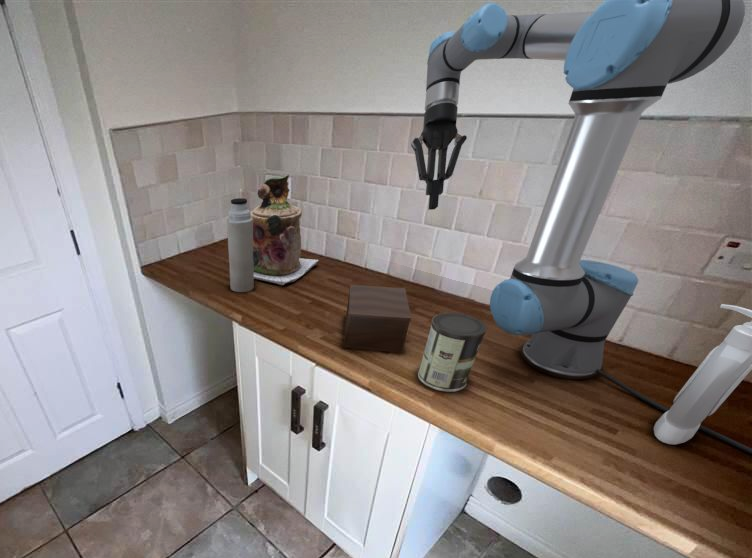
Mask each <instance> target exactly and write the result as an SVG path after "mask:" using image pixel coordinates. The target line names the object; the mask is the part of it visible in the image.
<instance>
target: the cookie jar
mask: <svg viewBox="0 0 752 558" xmlns="http://www.w3.org/2000/svg"><path fill="white" fill-rule="evenodd" d="M289 177H290V175H289V174H286V175H284V176H282V177H270V178H268V179H266V180H265V181H264V183H263V184H262V185H261V186H260V187H258V189H257V197H258V198H259V199H260V200H262V202H260V203H261V204H260V205H257V206H256V207H254V209H253V210H250V213H251V215H250V217H251V218H252V219H253V268H254V280H259V281H264V282H268V283H273V284H276V285H280V286H284V285H285V284H289V283H293V282H294V283H295V282H296V281H297V280H298V279H300V278H301V277H302V276H304V275H306V274H307V272H309V271H310V270H311V269H312V268H313V267H315V266H317V264H318V262H319V259H315V258H314V259H311V258H303V257H302V258H301V256H302V236H301V223H300V219H301V217H302V214H303V210H302V209H301V208H300V207H297V206H295V205H291V204H290V203H289V201H287V199H288V196H289V193H290V188H289V182H288V179H289Z"/></svg>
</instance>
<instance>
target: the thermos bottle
mask: <svg viewBox="0 0 752 558" xmlns="http://www.w3.org/2000/svg"><path fill="white" fill-rule="evenodd" d="M230 204H231V206H230V207H231V209H230V210H229V211H228V218H227V219H226V227H227V228H226V229H227V247H228V249H227V250H228V263H229V285H230V286H229V287H230V290H231V291H233V292H235V293H246V292H247V293H248V292H250V291H252V290H254V287H255V278H254V268H253V219H252V218H251V217H250V215H251V213H250V212H251V210H250V209H249V208H248V199H247V198H242V197H239V198H233V199H231V200H230Z"/></svg>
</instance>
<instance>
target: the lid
mask: <svg viewBox="0 0 752 558" xmlns="http://www.w3.org/2000/svg"><path fill="white" fill-rule="evenodd" d="M349 291H350V295H349V294H348V299H349V310H348V316H352V317H365V318H378V319H391V320H404V321H410V322H411V321H412V315H411V310H410V306H409V305H410V304H409V301H408V295H407V291H406V288H405V287H392V286H391V287H389V286H375V285H373V286H372V285H357V284H350V285H349Z"/></svg>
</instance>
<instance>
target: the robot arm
mask: <svg viewBox="0 0 752 558" xmlns="http://www.w3.org/2000/svg"><path fill="white" fill-rule="evenodd" d="M745 8H746V5H745V2H744V0H605V1H603V2H602V3H600V5H599V6H597V8H596V9H595V10H590V11H589V10H588V11H571V12H555V13H536V14H515V15H514V14H507V12H506V10H505V8H504V7H503V6H500V5H498V3H496V2H488V3H485V4H484V5H482V6H480V8H479V9H478V10H477V11H476V12H475V13H473V14H471V15H470V16H469V17H468V18H467V19H466V20H465V22H464V23H463V24H462V25H461V26H460V27H459V28H458V29H457V30H453V31H452V30H449V31H446V32H444V33H442V34H441V35H439V36H437V37H435V38H434V39H433V40H432V42H431V44H430V46H429V50H428V57H427V62H426V64H427V65H426V67H427V70H426V86H425V101H424V102H425V103H424V111H425V112H424V113H423V128H422V132H421V134H420V135H419V136H418V137H415V138H414V139H413V140H412V142H411V143H410V146H411V148H412V149H413V151H414V157H415V163H416V168H417V174H418V179H419V181H423V182H425V185H426V187H425V195H426V196H429V198H428V199H429V200H428V210H429V211H432V210H437V208H438V207H439V200H440V199H439V198H440V196H441V195H442V194H443V192H444V185H445V181H446V180H449V179H450V178H451V177H452V176H453V175H454V171H455V168H456V166H457V161H458V159H459V156H460V152H461V149H462V146H463V145H464V143H465V142H466V140H468V137H467V135H466V134H465V135H461V134H460V133H458V132H459V131H458V130H459V129H458V127H457V122H458V121H457V120H458V110H459V109H458V105H459V97H460V96H459V95H460V85H461V74H462V72H463V71H464V70H465V69H467V68H468V67H469V66H470V65H472V64H473V63H474V62H475V61H479V60H501V59H502V60H503V59H521V60H522V59H523V60H546V61H547V60H548V61H564V63H563V74H564V75H566V76H565V78H564V80H565V81H566V84H567V85H569V87H570V88H572V92H571V94H570V98H569V101H568V105H569V106H570V108H571V109H572V112H573V113H574V118H573V121H572V123H571V126H570V129H569V132H568V136H567V138H566V141H565V144H564V147H563V150H562V152H561V156H560V158H559V161H558V164H557V167H556V170H555V172H554V176H553V179H552V182H551V185H550V187H549V191H548V193H547V196H546V199H545V201H544V205H543V208H542V210H541V213H540V216H539V219H538V222H537V225H536V228H535V231H534V233H533V237H532V240H531V241H530V245H529V248H528V251H527V254H526V257H524V258H523V259H521V260H519V261H517V262H516V263H514V265H513V268H512V271H511V274H510V278H508V279H504V280H502V281H501V282H499V284H496V286H494V288H493V290H492V292H491V295H490V298H489V310H490V314H491V316H492V317H493V321H494V322H495V324H496V325H497V326H498V328H500V330H502V331H504V332H505V333H507V334H509V335H514V336H521V335H528V336H531V337H530V338H529V339H528V340H527V341H525V344H524V345H523V347H522V348H521V350H520V351H521V352H520V355H521V358H522V359H523V361H524V362H525V363H526V364H527V365H529V366H530V367H531V368H533V369H535V370H537V371H539V372H542V373H544V374H547V375H549V376H552V377H555V378H561V379H566V380H573V381H574V380H576V381H577V380H578V381H579V380H581V381H582V380H588V379H592V378H594V377H596V376H597V375H599V376H602V377H603V378H605V379H607V380H608V381H610V382H611V383H613V384H615V385H616V386H618V387H619V388H621V389H623V390H624V391H626V392H628V394H629V393H630V394H631V395H633V396H634V397H636V398H638V399H639V400H641V401H643V402H644V403H647V404H648V405H650V406H653V407H654V408H656V409H657V410H660V411H661V412H664V413H665V412H667V411H669V410H670V408H667V407H665V406H663V405H662V404H660V403H658V402H656V401H655V400H652V399H650V398H648V397H647V396H645V395H643V394H642V393H640V392H638V391H636V390H634V389H632V388H631V387H629V386H628V385H626V384H625V383H623V382H621V380H618V379H617V378H615V377H613V376H612V375H610V374H608V373H606V372H604V371H603V370H602V366H603V359H604V350H605V343H606V340H607V338H608V336H609V335H610V333H611V332H612V330H613V328H614V327H615V325H616V323H617V321H618V319H619V318H620V316H621V315H622V312H623V311H624V310H625V308H626V306H627V304H628V303H629V301H630V299H631V298H632V297H633V296H634V291H635V290H636V288H637V285H638V283H639V278H638V275H636V274H635V272H632V271H630V270H628V269H626V268H623V267H620V266H617V265H614V264H611V263H610V264H609V263H605V262H601V261H596V260H590V259H582V258H583V255H584V252H585V250H586V247H587V245H588V243H589V241H590V238H591V235H592V233H593V231H594V228H595V226H596V224H597V221H598V219H599V217H600V214H601V212H602V209H603V207H604V205H605V202H606V200H607V198H608V195H609V193H610V190H611V188H612V185H613V183H614V180H615V178H616V176H617V174H618V172H619V169H620V166H621V164H622V162H623V159H624V157H625V155H626V152H627V150H628V147H629V145H630V143H631V140H632V138H633V135H634V133H635V131H636V129H637V126H638V123H639V122H640V119H641V117H642V114H643V113H644V112H645V110H646V109H648V108H650V107H651V106H653V105H655V104H656V103H657V102H658V101H660V100H661V99H662V97H663V95H664V93H665V90H666V88H667V86H668V85H669V84H674V83H677V82H680V81H684V80H686V79H688V78H691V77H693V76H695V75H697V74H699V73H700V72H702V71H704V70H705V69H707V68H708V67H709V66H711V65H712V64H714V63H715V62H716V61H717V60H718V59H719V58H721V56H723V54H724V53H725V52H726V51H727V50H728V49H729V47H730V46H732V44H733V43H734V41H735V40H736V38H737V36H738V35H739V34H740V30H741V28H742V26H743V23H744V19H745V16H746V15H745V14H746V9H745ZM453 140H454V141H453ZM452 142H453V145H454V146H453V148H452V152H451V154H450V158H449V161H448V164H447V156H448V149H449V145H450V144H451V143H452ZM423 144H424V145H425V147H426V148H427V163H426V162H425V161H426V159H425V155H424V154H425V153H424V148H423ZM437 151H438V152H437ZM437 155H438V159H437V170H436V157H437ZM426 164H427V165H426ZM435 170H436V171H435ZM435 173H436V179H434V178H435ZM698 430H699V431H701V432H703V433H706V434H707V435H709V436H712V437H714V438H716V439H718V440H721V441H722V442H724V443H726V444H729V445H731V446H733V447H735V448H737V449H740V450H742V451H744V452H746V453H748V454H750V455H752V448H751V447H750V446H747V445H745V444H743V443H740V442H738V441H736V440H734V439H732V438H729V437H728V436H725V435H724V434H721V433H719V432H717V431H715V430H713V429H711V428H708V427H706V426H704V425H702V424H700V427H699V429H698Z"/></svg>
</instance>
